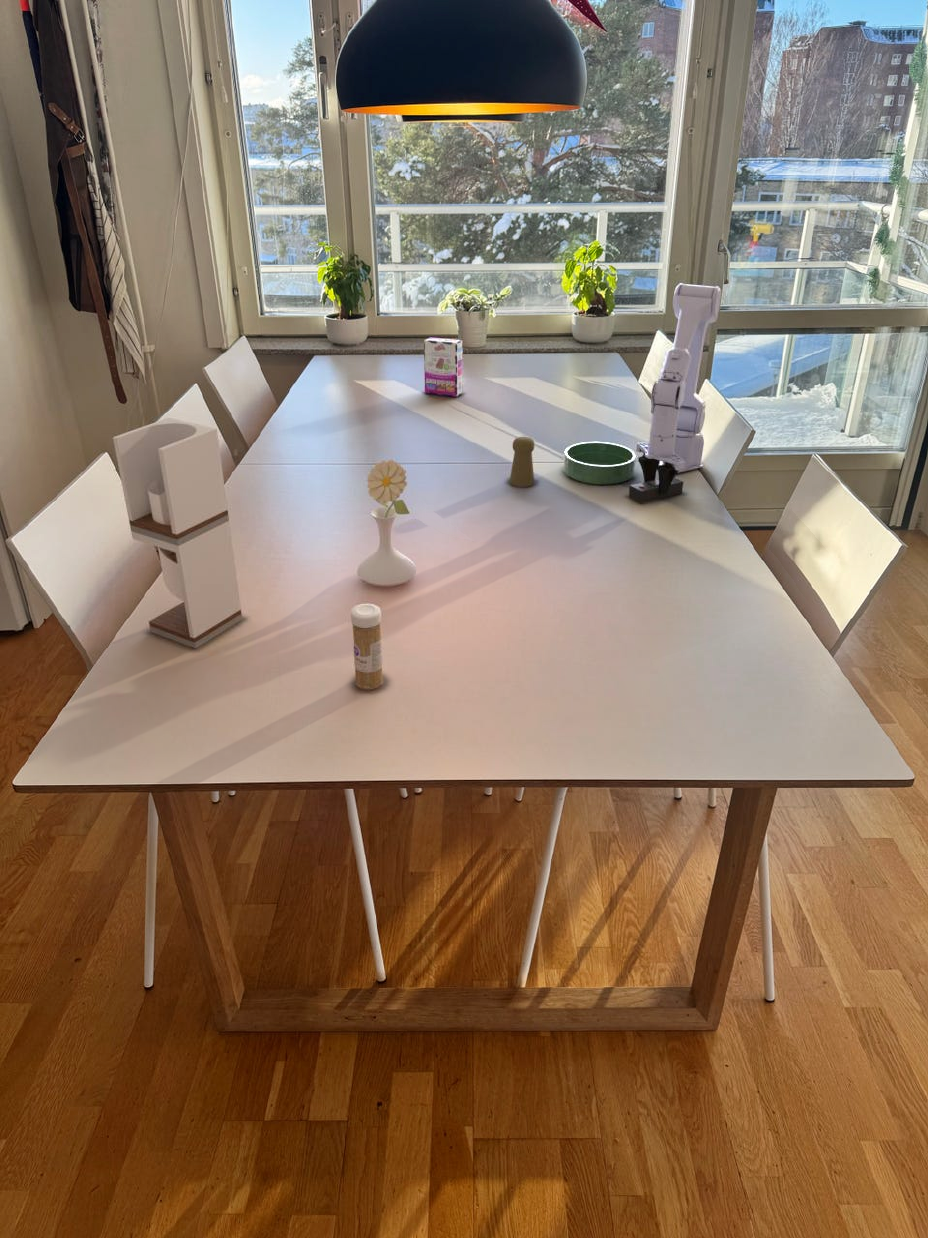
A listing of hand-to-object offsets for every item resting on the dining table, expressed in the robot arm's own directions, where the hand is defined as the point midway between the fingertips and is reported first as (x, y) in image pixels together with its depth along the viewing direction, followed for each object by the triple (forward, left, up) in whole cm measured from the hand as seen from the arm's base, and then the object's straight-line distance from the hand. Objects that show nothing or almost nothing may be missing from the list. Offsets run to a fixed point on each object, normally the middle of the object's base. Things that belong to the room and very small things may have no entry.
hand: (655, 489), depth 210 cm
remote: (0, 0, -1) cm, 1 cm away
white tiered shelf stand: (+110, +7, -2) cm, 110 cm away
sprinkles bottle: (+91, +38, -2) cm, 99 cm away
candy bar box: (+4, -96, -2) cm, 96 cm away
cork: (+23, -22, -2) cm, 32 cm away
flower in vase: (+73, +8, -2) cm, 73 cm away
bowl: (+3, -18, -1) cm, 18 cm away
